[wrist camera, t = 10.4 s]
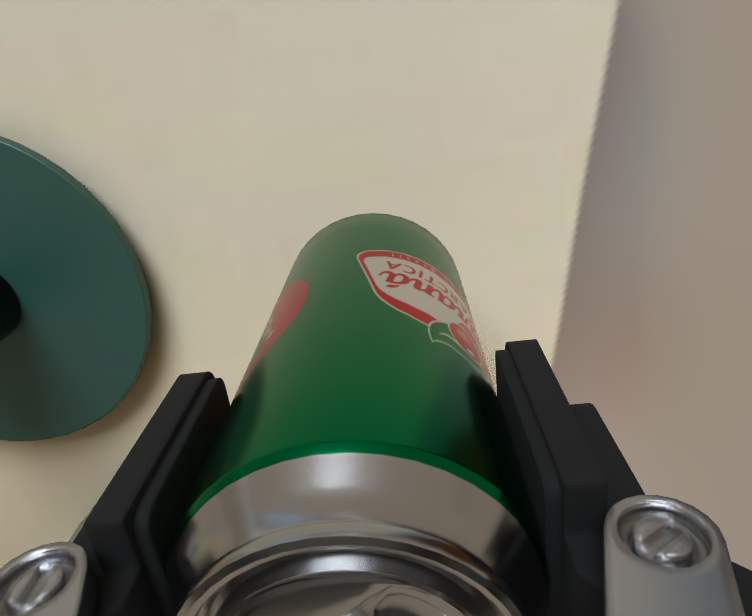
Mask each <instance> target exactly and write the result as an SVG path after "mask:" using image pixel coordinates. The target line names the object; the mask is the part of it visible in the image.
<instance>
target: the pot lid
mask: <svg viewBox="0 0 752 616" xmlns="http://www.w3.org/2000/svg"><path fill="white" fill-rule="evenodd" d="M151 328H152V322H151V304H150V299H149V293H148V288H147V284H146V281H145V278H144V275H143V272H142V269H141V265H140V263H139V261H138V259H137V257H136V255H135V253H134V250H133V248H132V246H131V244H130V243H129V241H128V239H127V238H126V236H125V235H124V233H123V231H122V230H121V228H120V226H119V225H118V223H117V222H116V221H115V220H114V218H113V217H112V216H111V215H110V213H109V212H108V211H107V210H106V208H105V207H104V206H103V205H102V204H101V203H100V201H99V200H98V199H97V198H96V197H95V196H94V195H93V194H92V193H91V192H90V191H89V190H88V189H87V188H86V187H85V186H84V185H82V184H81V183H80V182H79V181H77V180H76V179H75V178H74V177H73V176H71V175H70V174H69V173H68V172H67V171H65V170H64V169H62V168H61V167H59V166H58V165H56V164H55V163H53V162H52V161H50V160H49V159H47V158H46V157H44V156H43V155H41V154H39V153H37V152H35V151H33V150H31V149H29V148H27V147H25V146H23V145H21V144H19V143H17V142H14V141H11V140H9V139H6V138H3V137H1V136H0V440H8V441H33V440H42V439H50V438H54V437H58V436H62V435H67V434H69V433H72V432H75V431H77V430H80V429H82V428H85V427H87V426H88V425H90V424H92V423H94V422H96V421H97V420H99V419H101V418H102V417H103V416H104V415H106V414H107V413H108V412H110V411H111V410H112V409H113V408H114V407H115V406H116V405H117V404H118V403H119V402H120V401H121V400H122V399H123V398H124V397H125V395H126V394H127V393H128V391H129V390H130V388H131V387H132V385H133V384H134V382H135V381H136V379H137V378H138V376H139V374H140V372H141V369H142V367H143V365H144V363H145V360H146V356H147V353H148V349H149V345H150V337H151Z"/></svg>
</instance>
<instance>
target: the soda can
mask: <svg viewBox="0 0 752 616" xmlns="http://www.w3.org/2000/svg"><path fill="white" fill-rule="evenodd" d="M165 579H166V587H167V595H168V600H169V604H170V607H171V610H172V613H173V616H545V613H546V609H547V605H548V601H549V583H550V575H549V570H548V565H547V560H546V555H545V551H544V547H543V544H542V541H541V538H540V534H539V531H538V528H537V525H536V522H535V518H534V515H533V512H532V509H531V505H530V502H529V499H528V496H527V493H526V489H525V486H524V483H523V480H522V476H521V473H520V470H519V467H518V463H517V460H516V457H515V454H514V451H513V447H512V444H511V441H510V438H509V434H508V431H507V428H506V425H505V422H504V418H503V415H502V412H501V409H500V405H499V402H498V399H497V396H496V393H495V389H494V386H493V383H492V380H491V376H490V373H489V370H488V367H487V363H486V360H485V357H484V354H483V351H482V347H481V344H480V341H479V338H478V334H477V331H476V328H475V325H474V322H473V318H472V315H471V312H470V309H469V305H468V302H467V299H466V296H465V292H464V289H463V286H462V283H461V280H460V276H459V273H458V270H457V268H456V265H455V263H454V261H453V259H452V257H451V255H450V254H449V252H448V251H447V249H446V248H445V247H444V245H443V244H442V243H441V242H440V241H439V240H438V239H437V238H436V237H435V236H434V235H433V234H431V233H430V232H429V231H428V230H426V229H425V228H423V227H421V226H420V225H418V224H416V223H414V222H412V221H409V220H407V219H404V218H402V217H398V216H393V215H388V214H376V213H370V214H359V215H355V216H351V217H347V218H343V219H341V220H339V221H336V222H334V223H332V224H330V225H328V226H327V227H325V228H324V229H322V230H321V231H319V232H318V233H317V234H316V235H315V236H314V237H312V238H311V239H310V240H309V241H308V243H307V244H306V245H305V246H304V248H303V249H302V250H301V252H300V253H299V255H298V257H297V259H296V261H295V262H294V265H293V267H292V269H291V271H290V274H289V276H288V278H287V280H286V283H285V285H284V287H283V289H282V292H281V294H280V296H279V298H278V301H277V303H276V305H275V307H274V309H273V312H272V314H271V316H270V318H269V321H268V323H267V325H266V327H265V330H264V332H263V334H262V336H261V339H260V341H259V343H258V345H257V348H256V350H255V352H254V354H253V357H252V359H251V361H250V363H249V366H248V368H247V370H246V372H245V374H244V377H243V379H242V381H241V383H240V386H239V388H238V390H237V392H236V395H235V397H234V399H233V401H232V404H231V406H230V408H229V410H228V413H227V415H226V417H225V419H224V422H223V424H222V426H221V428H220V431H219V433H218V435H217V437H216V440H215V442H214V444H213V446H212V448H211V451H210V453H209V455H208V457H207V460H206V462H205V464H204V466H203V469H202V471H201V473H200V475H199V478H198V480H197V482H196V484H195V487H194V489H193V491H192V493H191V496H190V498H189V500H188V502H187V505H186V507H185V509H184V511H183V514H182V516H181V518H180V520H179V522H178V525H177V527H176V529H175V532H174V535H173V538H172V541H171V544H170V547H169V550H168V553H167V562H166V573H165Z"/></svg>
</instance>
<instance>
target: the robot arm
mask: <svg viewBox="0 0 752 616" xmlns="http://www.w3.org/2000/svg"><path fill="white" fill-rule="evenodd" d="M495 361H496V382H497V399H498V402H499V405H500V409H501V412H502V415H503V418H504V422H505V425H506V428H507V431H508V434H509V438H510V441H511V444H512V447H513V451H514V454H515V457H516V460H517V463H518V467H519V470H520V473H521V476H522V480H523V483H524V486H525V489H526V493H527V496H528V499H529V502H530V505H531V509H532V512H533V515H534V518H535V522H536V525H537V528H538V531H539V534H540V538H541V541H542V544H543V547H544V551H545V555H546V560H547V565H548V570H549V575H550V583H549V601H548V605H547V609H546V613H545V616H752V571H750V570H748V569H746V568H744V567H742V566H740V565H738V564H736V563H734V562H731V560H730V556H729V552H728V548H727V545H726V541H725V539H724V537H723V535H722V533H721V531H720V529H719V527H718V526H717V525H716V524H715V523H714V522H713V521H712V520H711V519H710V518H709V517H708V516H707V515H706V514H704V513H702V512H701V511H699V510H698V509H696V508H695V507H693V506H691V505H689V504H686V503H684V502H681V501H679V500H677V499H673V498H668V497H663V496H658V495H645V493H644V492H643V490H642V488H641V487H640V485H639V483H638V481H637V480H636V478H635V476H634V474H633V472H632V471H631V469H630V467H629V466H628V464H627V462H626V460H625V458H624V457H623V455H622V453H621V452H620V450H619V449H618V447H617V445H616V443H615V441H614V439H613V438H612V436H611V434H610V432H609V431H608V429H607V427H606V425H605V424H604V422H603V420H602V418H601V417H600V415H599V413H598V411H597V410H596V408H595V407H594V406H593V404H591V403H584V404H574V405H569V403H568V401H567V399H566V397H565V395H564V393H563V391H562V389H561V387H560V385H559V383H558V381H557V379H556V377H555V375H554V373H553V371H552V369H551V367H550V365H549V363H548V361H547V359H546V357H545V355H544V353H543V351H542V349H541V347H540V345H539V343H538V341H537V340H536V339H533V340H523V341H513V342H506V345H505V350H498V351H496V352H495ZM229 408H230V403H229V399H228V395H227V391H226V388H225V384H224V382H223V380H222V379H221V378H214V376H213V374H212V373H211V372H201V373H191V374H182V375H180V376H179V377H178V378H177V380H176V381H175V383H174V384H173V386H172V387H171V389H170V390H169V392H168V394H167V395H166V397H165V398H164V400H163V401H162V403H161V404H160V406H159V408H158V409H157V411H156V412H155V414H154V415H153V417H152V418H151V420H150V421H149V423H148V425H147V426H146V428H145V429H144V431H143V432H142V434H141V435H140V437H139V438H138V440H137V442H136V443H135V445H134V446H133V448H132V449H131V451H130V452H129V454H128V456H127V457H126V459H125V460H124V462H123V463H122V465H121V466H120V468H119V469H118V471H117V473H116V474H115V476H114V477H113V479H112V480H111V482H110V483H109V485H108V487H107V488H106V490H105V491H104V493H103V494H102V496H101V497H100V499H99V500H98V502H97V504H96V505H95V507H94V508H93V510H92V511H91V513H90V514H89V516H88V517H87V519H86V521H85V522H84V524H83V527H82V529H81V530H80V532H79V533H78V535H77V536H76V538H75V539H74V541H73V542H72V543H70V542H56V543H51V544H45V545H42V546H40V547H37V548H34V549H31V550H29V551H27V552H25V553H23V554H22V555H20V556H18V557H16V558H14V559H12V560H11V561H10V562H8V563H7V564H6V565H5V566H3V567H2V568H1V569H0V616H173V613H172V610H171V607H170V604H169V600H168V595H167V587H166V579H165V573H166V562H167V553H168V550H169V547H170V544H171V541H172V538H173V535H174V532H175V529H176V527H177V525H178V522H179V520H180V518H181V516H182V514H183V511H184V509H185V507H186V505H187V502H188V500H189V498H190V496H191V493H192V491H193V489H194V487H195V484H196V482H197V480H198V478H199V475H200V473H201V471H202V469H203V466H204V464H205V462H206V460H207V457H208V455H209V453H210V451H211V448H212V446H213V444H214V442H215V440H216V437H217V435H218V433H219V431H220V428H221V426H222V424H223V422H224V419H225V417H226V415H227V413H228V410H229Z"/></svg>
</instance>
